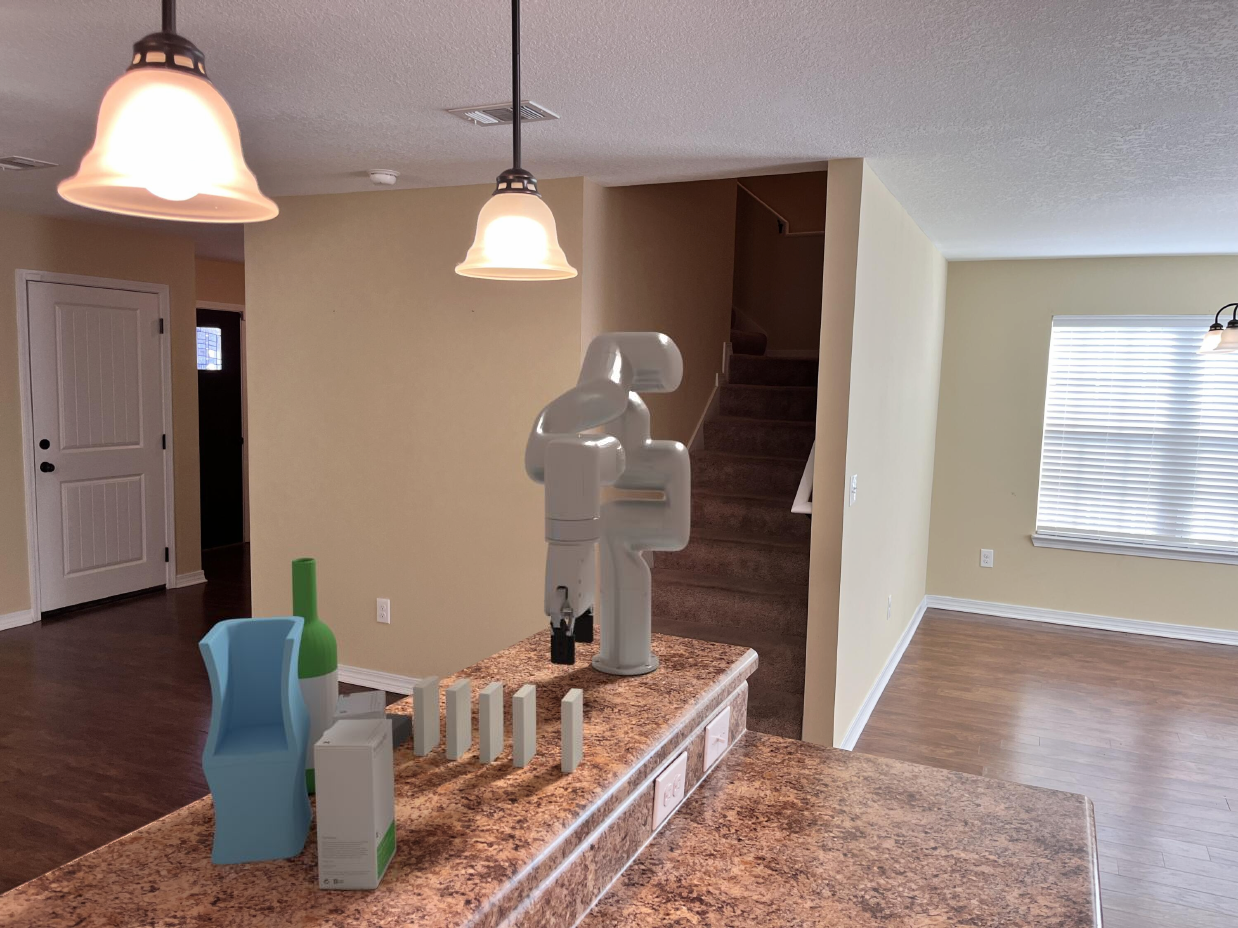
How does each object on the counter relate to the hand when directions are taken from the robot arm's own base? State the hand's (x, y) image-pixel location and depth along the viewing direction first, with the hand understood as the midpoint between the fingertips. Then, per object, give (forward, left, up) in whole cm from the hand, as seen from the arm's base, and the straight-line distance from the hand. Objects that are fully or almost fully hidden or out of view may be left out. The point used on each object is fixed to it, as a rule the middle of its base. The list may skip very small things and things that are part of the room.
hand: (572, 652), depth 120 cm
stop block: (0, -28, -16) cm, 33 cm away
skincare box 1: (+21, -20, -16) cm, 33 cm away
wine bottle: (+14, -32, -16) cm, 39 cm away
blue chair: (+28, -29, -16) cm, 44 cm away
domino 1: (0, -22, -16) cm, 27 cm away
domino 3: (0, -12, -16) cm, 20 cm away
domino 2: (0, -17, -16) cm, 23 cm away
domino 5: (0, 0, -16) cm, 16 cm away
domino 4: (0, -7, -16) cm, 18 cm away
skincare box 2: (+31, -15, -16) cm, 38 cm away
